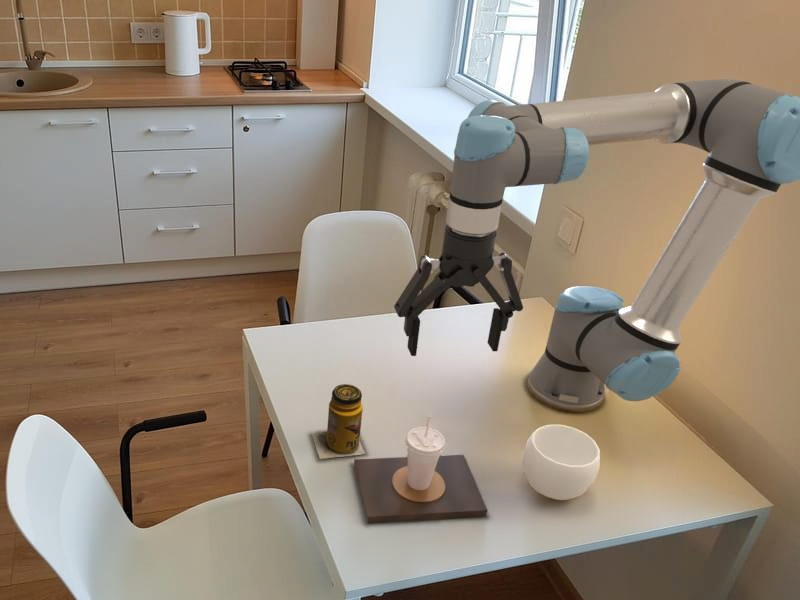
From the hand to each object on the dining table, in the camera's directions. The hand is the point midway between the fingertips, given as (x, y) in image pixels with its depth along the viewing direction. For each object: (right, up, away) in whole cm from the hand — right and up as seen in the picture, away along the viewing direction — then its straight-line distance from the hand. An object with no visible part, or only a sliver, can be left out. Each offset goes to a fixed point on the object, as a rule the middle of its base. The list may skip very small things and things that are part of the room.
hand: (452, 349), depth 118 cm
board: (-5, -24, +7) cm, 25 cm away
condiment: (-18, -17, +16) cm, 30 cm away
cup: (+19, -24, +9) cm, 32 cm away
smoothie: (-5, -23, +6) cm, 24 cm away
